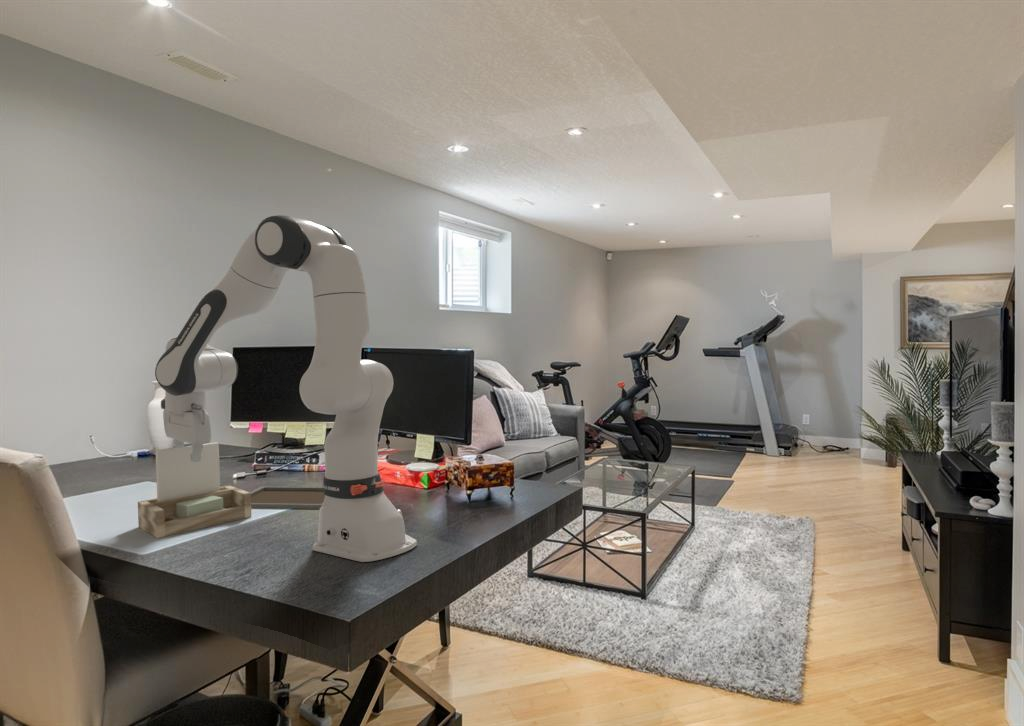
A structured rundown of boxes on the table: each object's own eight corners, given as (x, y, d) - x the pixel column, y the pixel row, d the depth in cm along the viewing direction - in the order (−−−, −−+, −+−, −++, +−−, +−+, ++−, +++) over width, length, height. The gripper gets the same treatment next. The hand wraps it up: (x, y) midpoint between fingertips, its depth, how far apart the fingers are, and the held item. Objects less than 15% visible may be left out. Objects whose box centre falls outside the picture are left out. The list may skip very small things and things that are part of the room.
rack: (251, 516, 152) (250, 492, 152) (157, 538, 136) (156, 511, 136) (229, 507, 160) (228, 485, 160) (138, 526, 145) (137, 501, 145)
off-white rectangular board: (221, 513, 155) (218, 443, 155) (160, 526, 145) (157, 451, 144) (218, 512, 157) (216, 442, 156) (158, 525, 146) (155, 450, 145)
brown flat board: (324, 504, 158) (214, 503, 161) (325, 511, 158) (215, 509, 161) (351, 487, 177) (252, 486, 180) (351, 492, 177) (252, 491, 180)
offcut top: (223, 509, 150) (223, 497, 150) (187, 519, 142) (187, 506, 142) (212, 507, 152) (212, 495, 152) (176, 516, 144) (176, 503, 144)
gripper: (217, 404, 145) (219, 462, 146) (184, 399, 159) (186, 452, 159) (189, 406, 140) (191, 466, 141) (157, 401, 154) (159, 456, 155)
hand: (188, 459), depth 150 cm, fingers open, 8 cm apart
